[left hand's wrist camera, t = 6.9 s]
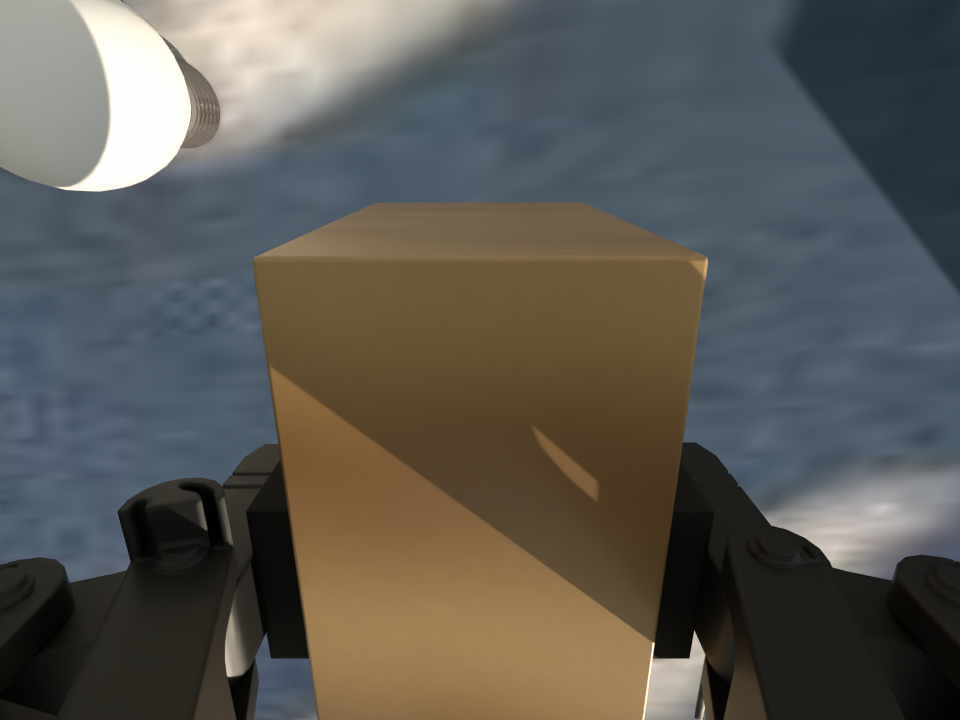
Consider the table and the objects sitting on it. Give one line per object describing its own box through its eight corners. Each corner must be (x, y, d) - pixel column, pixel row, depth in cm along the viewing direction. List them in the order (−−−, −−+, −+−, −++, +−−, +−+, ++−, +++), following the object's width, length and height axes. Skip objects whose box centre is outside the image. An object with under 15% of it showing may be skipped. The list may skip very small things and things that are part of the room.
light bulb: (271, 77, 25) (127, 23, 15) (214, 210, 27) (51, 244, 17) (125, -14, 24) (-145, -144, 13) (76, 131, 26) (-191, 116, 15)
